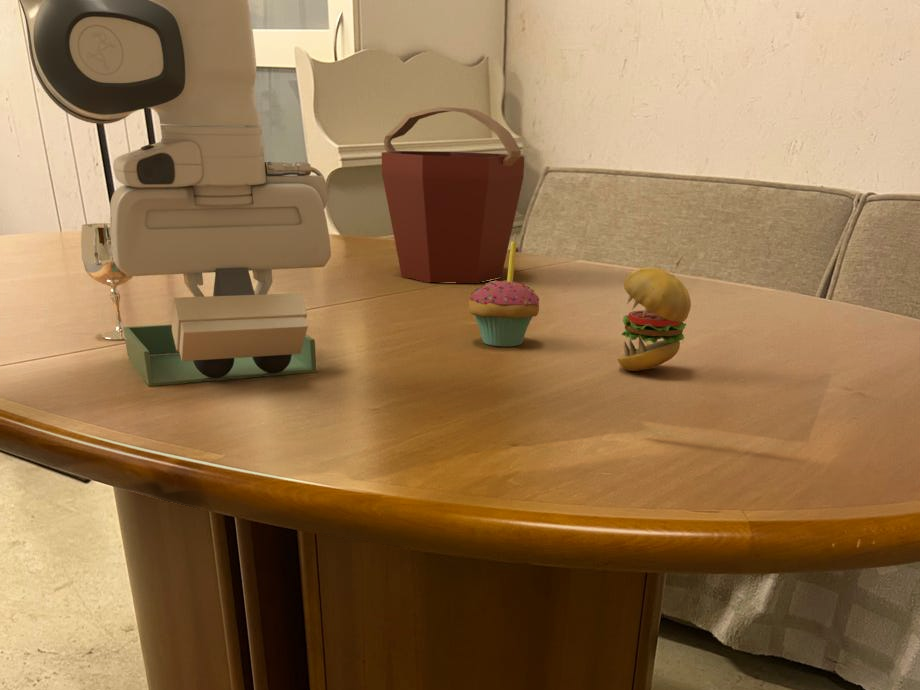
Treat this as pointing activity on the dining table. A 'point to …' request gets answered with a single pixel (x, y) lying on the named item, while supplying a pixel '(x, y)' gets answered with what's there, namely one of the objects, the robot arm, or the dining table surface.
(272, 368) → the ball
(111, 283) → the wineglass
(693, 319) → the dining table surface
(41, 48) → the robot arm
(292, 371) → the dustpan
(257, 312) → the brush
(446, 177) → the bucket
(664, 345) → the hamburger
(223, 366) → the ball
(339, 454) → the dining table surface
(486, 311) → the cupcake
